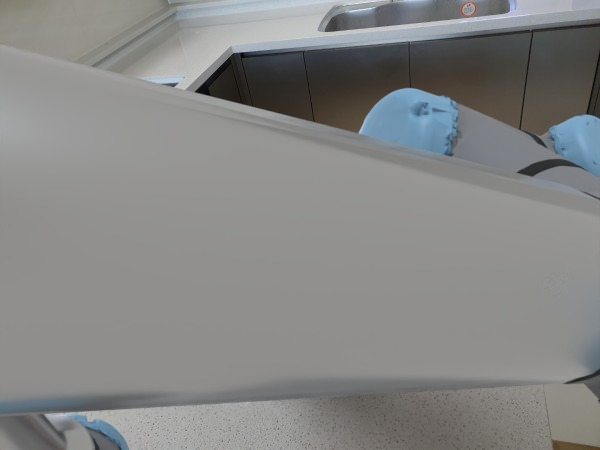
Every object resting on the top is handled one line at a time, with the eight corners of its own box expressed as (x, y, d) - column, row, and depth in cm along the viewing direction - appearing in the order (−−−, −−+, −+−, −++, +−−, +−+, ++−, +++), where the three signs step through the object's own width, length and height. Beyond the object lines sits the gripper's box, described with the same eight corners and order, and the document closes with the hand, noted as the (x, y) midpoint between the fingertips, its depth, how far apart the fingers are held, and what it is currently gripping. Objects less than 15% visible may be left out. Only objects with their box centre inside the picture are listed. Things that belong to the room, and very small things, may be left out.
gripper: (440, 355, 36) (297, 394, 53) (500, 212, 49) (369, 281, 66) (373, 288, 35) (251, 350, 53) (452, 161, 48) (332, 245, 66)
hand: (316, 312), depth 59 cm, fingers closed on supplement box, 7 cm apart
